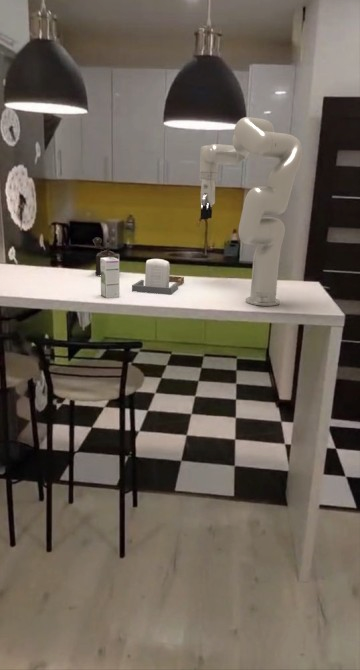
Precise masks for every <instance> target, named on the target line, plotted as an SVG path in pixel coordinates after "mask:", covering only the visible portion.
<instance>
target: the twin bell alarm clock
mask: <svg viewBox="0 0 360 670" xmlns="http://www.w3.org/2000/svg"><path fill="white" fill-rule="evenodd" d="M102 241H103V240H102V238H100V237H95V238H93V239H92V242H93V243H94V248H95V249H97V250H98V249H100V252H98V253H97V254H96V256H95V273H94V274H95V276H96V275H101V262H100V259H101V258H105V257H113V258H116V259H119V260H120V254H119V253H115V252H114V251H111V250H110V244H111V243H110V239H109V238H108V239H106V246H104V247H102V246H101V243H102ZM102 250H103V251H102Z"/></svg>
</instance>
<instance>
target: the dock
mask: <svg viewBox="0 0 360 670" xmlns="http://www.w3.org/2000/svg"><path fill="white" fill-rule="evenodd" d="M176 282H177V283H178V287H181V286H182V285H183V284H184V283H185V277H184V276H177V275H176V276H175V275H169V283H176Z"/></svg>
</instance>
